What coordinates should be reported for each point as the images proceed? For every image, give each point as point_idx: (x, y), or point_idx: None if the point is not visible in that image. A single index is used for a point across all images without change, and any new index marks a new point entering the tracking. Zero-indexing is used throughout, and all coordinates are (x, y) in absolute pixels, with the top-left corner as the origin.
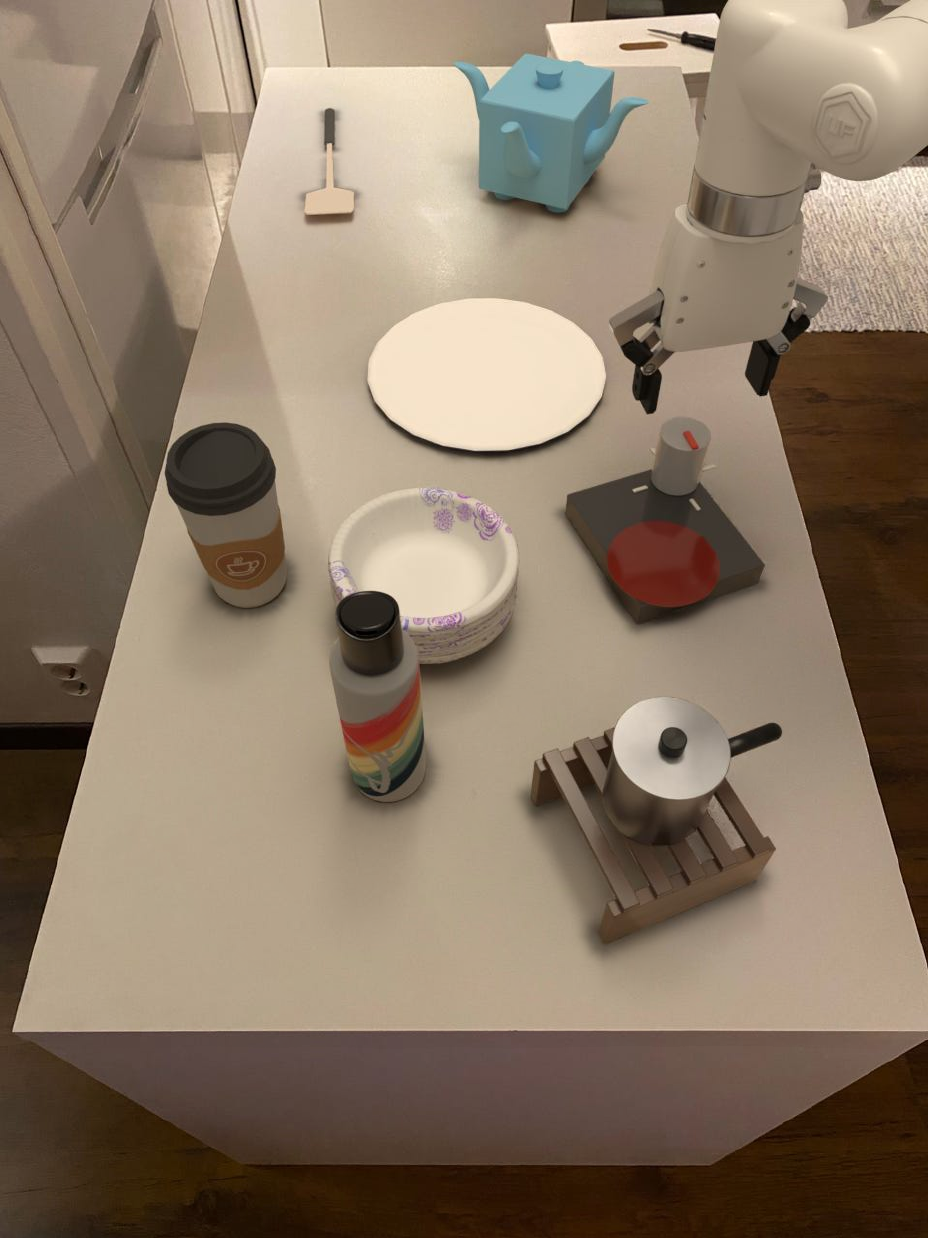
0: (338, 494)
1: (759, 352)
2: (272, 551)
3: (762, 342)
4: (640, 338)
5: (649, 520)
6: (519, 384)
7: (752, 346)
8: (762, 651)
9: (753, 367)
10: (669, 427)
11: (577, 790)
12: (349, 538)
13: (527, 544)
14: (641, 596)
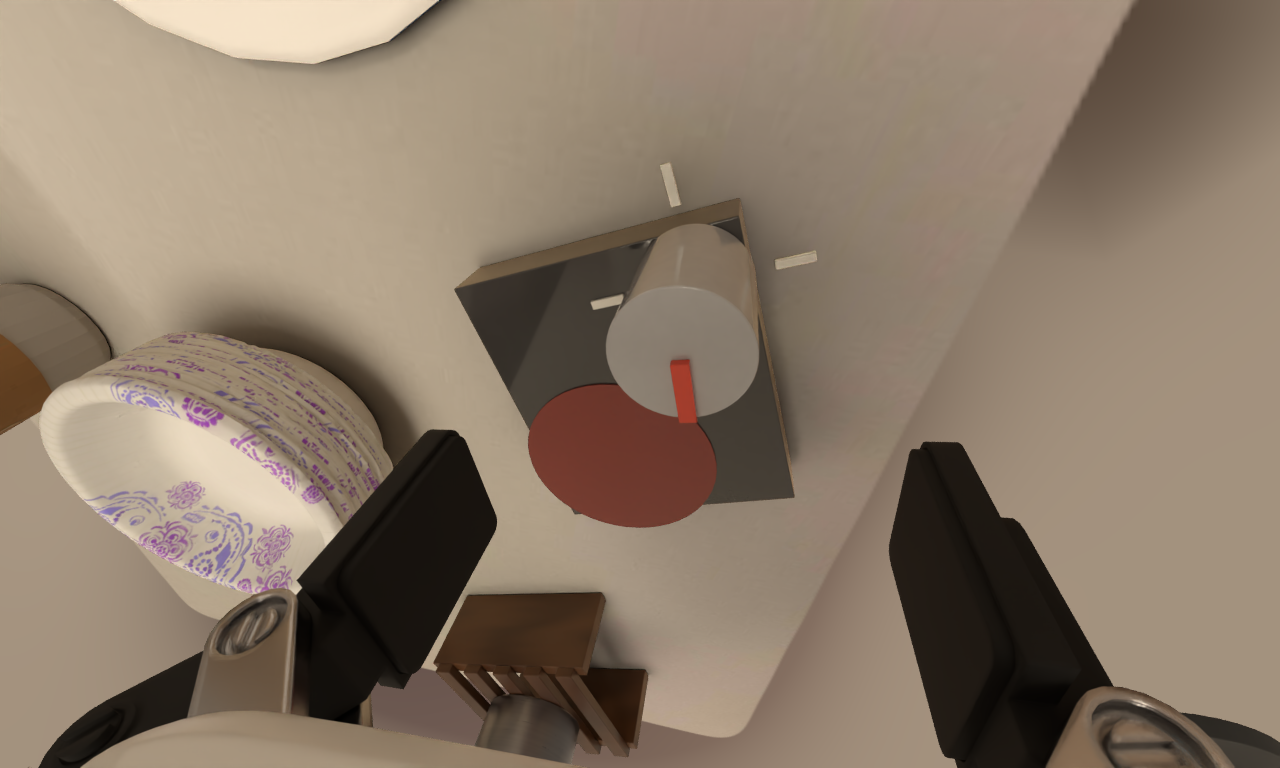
0: (49, 151)
1: (957, 671)
2: (2, 423)
3: (1000, 724)
4: (195, 695)
5: (614, 380)
6: None
7: (970, 595)
8: (743, 543)
9: (926, 554)
10: (637, 326)
11: (469, 696)
12: (77, 456)
13: (421, 326)
14: (575, 504)
